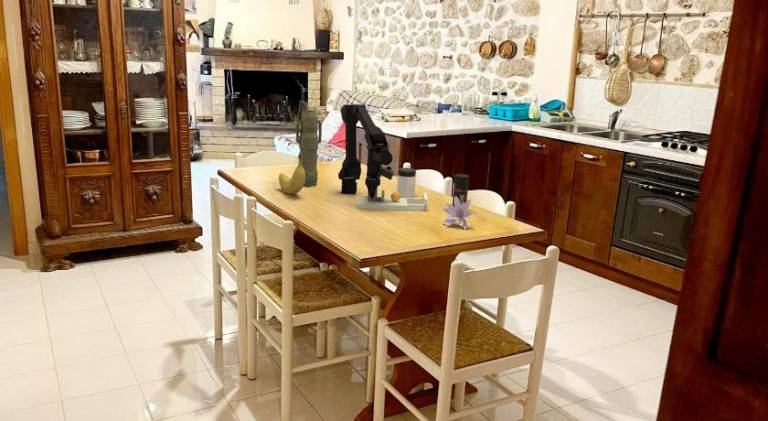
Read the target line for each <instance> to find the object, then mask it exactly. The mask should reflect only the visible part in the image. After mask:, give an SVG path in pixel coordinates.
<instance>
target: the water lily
mask: <svg viewBox="0 0 768 421" xmlns="http://www.w3.org/2000/svg"><path fill="white" fill-rule="evenodd" d="M471 202H472V199H471V198H469V199H467V201H466V203H465V204H464V203H462V205H461V204H460V201H459V199H458V197H456V196H455V198H454V205H455V207H454V206H453V205H452V203H445V208H443V209H441V210H442V212H443V213H444V214H446V215H448V217H447V218H446V219H445V220H444V221H443V222H442V224H445V225H444V226H451V225H453V224H455V223H456V222H457V221H458V225H459V226H461V228H462V229H463V228H467V229H468V223H467V221H466V219H468V218H471V217H475V213H474V212H472V211H471V212H467V211H468V209H469V207H470V204H471ZM465 211H466V212H465Z"/></svg>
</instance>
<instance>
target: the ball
mask: <svg viewBox="0 0 768 421" xmlns="http://www.w3.org/2000/svg"><path fill="white" fill-rule="evenodd" d="M390 197H391V199H392V200H393V201H398V200H399V199H400V198H401V197H400V194H399V193H398V192H397V191H394V192H392V193H391V194H390Z"/></svg>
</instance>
